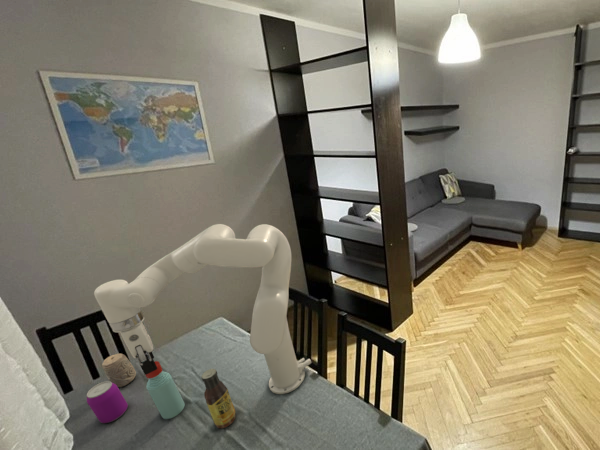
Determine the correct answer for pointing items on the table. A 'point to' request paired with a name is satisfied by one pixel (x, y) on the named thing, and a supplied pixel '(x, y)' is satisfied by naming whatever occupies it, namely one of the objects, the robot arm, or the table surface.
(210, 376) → the sauce bottle
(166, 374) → the water bottle
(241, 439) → the table surface
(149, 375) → the cap
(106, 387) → the beverage can
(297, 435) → the table surface
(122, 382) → the carving
